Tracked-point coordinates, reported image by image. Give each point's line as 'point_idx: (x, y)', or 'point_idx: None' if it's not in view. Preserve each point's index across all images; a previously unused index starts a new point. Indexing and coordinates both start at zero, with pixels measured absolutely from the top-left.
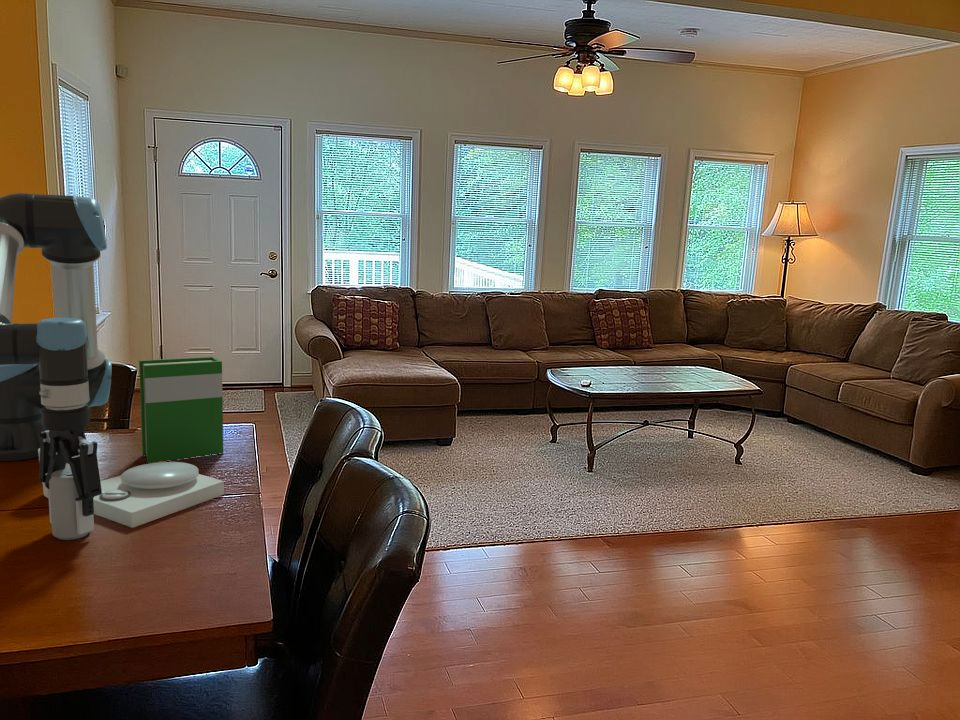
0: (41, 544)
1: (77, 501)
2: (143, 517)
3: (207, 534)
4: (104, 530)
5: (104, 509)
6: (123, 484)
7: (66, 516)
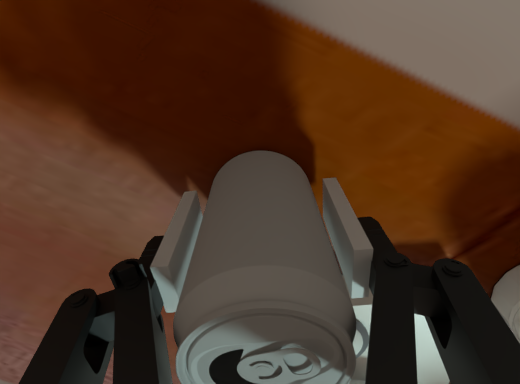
0: (258, 108)
1: (158, 261)
2: None
3: None
4: None
5: None
6: None
7: (212, 202)
